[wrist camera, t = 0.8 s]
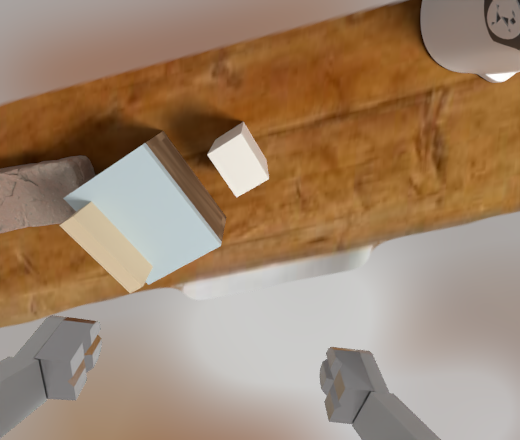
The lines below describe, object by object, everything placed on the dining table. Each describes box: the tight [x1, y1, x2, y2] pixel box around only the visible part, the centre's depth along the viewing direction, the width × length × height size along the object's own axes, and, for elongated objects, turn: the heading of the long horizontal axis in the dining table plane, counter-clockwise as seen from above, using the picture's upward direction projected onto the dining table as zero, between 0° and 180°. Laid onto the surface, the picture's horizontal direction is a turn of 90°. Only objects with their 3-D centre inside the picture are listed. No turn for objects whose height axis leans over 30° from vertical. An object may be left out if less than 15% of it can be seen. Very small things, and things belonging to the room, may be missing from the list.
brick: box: [0, 155, 96, 233], centre depth 41 cm, size 17×8×5 cm, turn 99°
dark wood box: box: [146, 131, 226, 241], centre depth 40 cm, size 12×15×7 cm
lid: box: [60, 143, 222, 293], centre depth 35 cm, size 12×15×5 cm
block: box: [207, 122, 269, 198], centre depth 37 cm, size 4×6×8 cm
